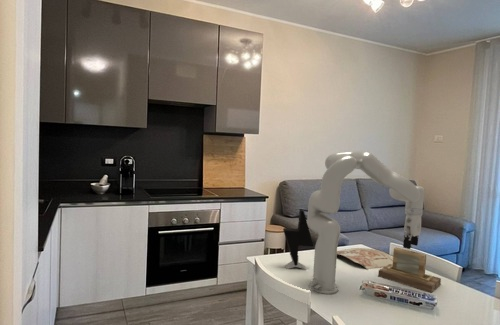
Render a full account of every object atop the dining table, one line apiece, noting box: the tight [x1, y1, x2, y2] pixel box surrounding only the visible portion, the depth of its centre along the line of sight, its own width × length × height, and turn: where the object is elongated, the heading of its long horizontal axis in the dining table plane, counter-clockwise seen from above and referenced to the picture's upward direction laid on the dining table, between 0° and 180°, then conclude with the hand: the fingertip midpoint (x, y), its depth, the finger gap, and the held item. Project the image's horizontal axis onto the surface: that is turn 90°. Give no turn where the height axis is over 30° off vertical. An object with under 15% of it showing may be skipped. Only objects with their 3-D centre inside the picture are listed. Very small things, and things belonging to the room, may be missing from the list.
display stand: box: [377, 264, 442, 294], centre depth 161 cm, size 14×24×4 cm, turn 45°
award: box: [283, 208, 314, 270], centre depth 170 cm, size 15×5×30 cm, turn 92°
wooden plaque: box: [392, 247, 427, 278], centre depth 161 cm, size 4×14×11 cm, turn 46°
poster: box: [337, 247, 393, 270], centre depth 189 cm, size 28×6×30 cm
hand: (410, 246), depth 160 cm, fingers open, 9 cm apart
